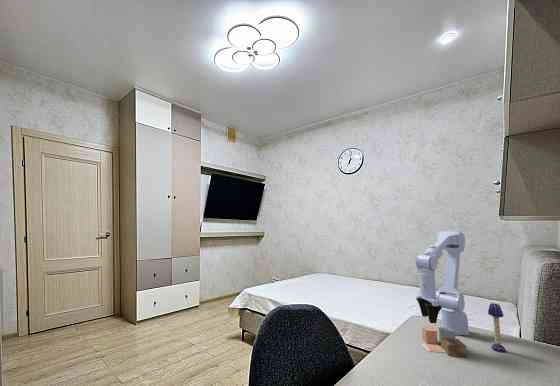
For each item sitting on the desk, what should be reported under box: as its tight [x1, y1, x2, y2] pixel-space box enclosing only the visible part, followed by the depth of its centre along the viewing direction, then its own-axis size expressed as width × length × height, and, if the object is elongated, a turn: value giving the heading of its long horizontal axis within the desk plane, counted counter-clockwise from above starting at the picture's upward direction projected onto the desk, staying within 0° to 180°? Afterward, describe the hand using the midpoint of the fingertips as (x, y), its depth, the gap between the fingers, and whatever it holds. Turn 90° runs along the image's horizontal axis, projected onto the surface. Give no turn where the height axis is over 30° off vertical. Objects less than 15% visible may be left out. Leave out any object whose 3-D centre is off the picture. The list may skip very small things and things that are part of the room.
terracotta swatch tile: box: [422, 343, 446, 354], centre depth 101 cm, size 6×6×1 cm
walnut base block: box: [440, 337, 467, 358], centre depth 98 cm, size 6×6×4 cm
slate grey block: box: [438, 327, 457, 342], centre depth 107 cm, size 4×4×5 cm
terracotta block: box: [421, 326, 438, 345], centre depth 107 cm, size 4×4×5 cm
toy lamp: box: [487, 302, 507, 353], centre depth 101 cm, size 5×5×17 cm
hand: (428, 319), depth 108 cm, fingers open, 7 cm apart
